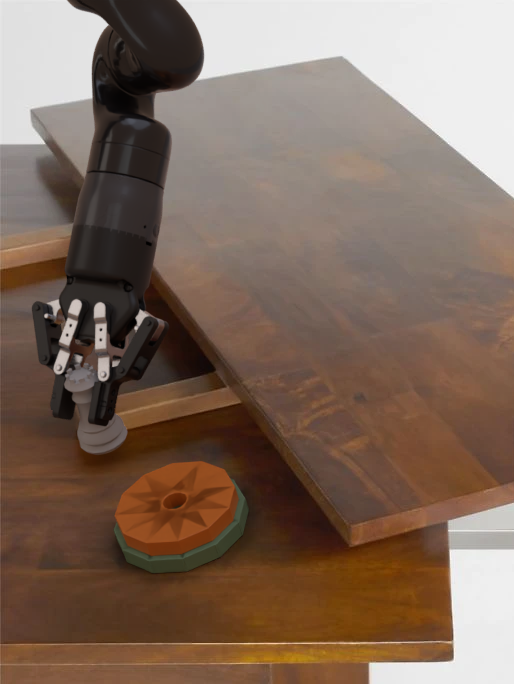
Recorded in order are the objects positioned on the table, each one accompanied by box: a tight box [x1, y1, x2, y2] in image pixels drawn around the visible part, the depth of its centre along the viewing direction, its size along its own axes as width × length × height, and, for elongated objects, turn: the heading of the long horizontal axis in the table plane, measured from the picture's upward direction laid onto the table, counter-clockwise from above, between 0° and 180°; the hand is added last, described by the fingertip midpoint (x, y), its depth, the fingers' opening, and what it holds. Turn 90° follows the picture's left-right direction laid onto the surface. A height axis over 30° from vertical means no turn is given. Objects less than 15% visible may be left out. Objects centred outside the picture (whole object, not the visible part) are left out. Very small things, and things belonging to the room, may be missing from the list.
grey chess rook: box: [64, 362, 128, 456], centre depth 124 cm, size 4×4×8 cm
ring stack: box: [112, 460, 250, 574], centre depth 117 cm, size 11×11×3 cm
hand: (80, 420), depth 123 cm, fingers closed on grey chess rook, 3 cm apart
